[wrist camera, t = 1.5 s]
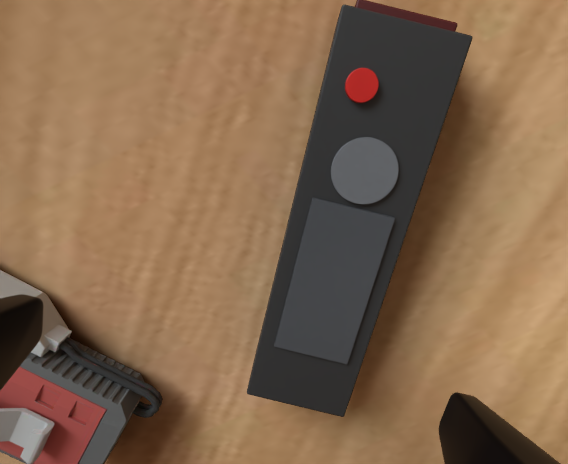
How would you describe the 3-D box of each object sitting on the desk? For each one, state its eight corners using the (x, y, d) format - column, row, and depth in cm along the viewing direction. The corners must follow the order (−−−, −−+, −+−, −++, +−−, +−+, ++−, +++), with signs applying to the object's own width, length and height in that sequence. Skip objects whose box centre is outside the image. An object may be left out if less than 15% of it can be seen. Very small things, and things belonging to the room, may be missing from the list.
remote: (339, 380, 21) (344, 422, 18) (254, 359, 21) (245, 398, 18) (450, 38, 16) (482, 19, 13) (340, 11, 16) (346, -14, 13)
